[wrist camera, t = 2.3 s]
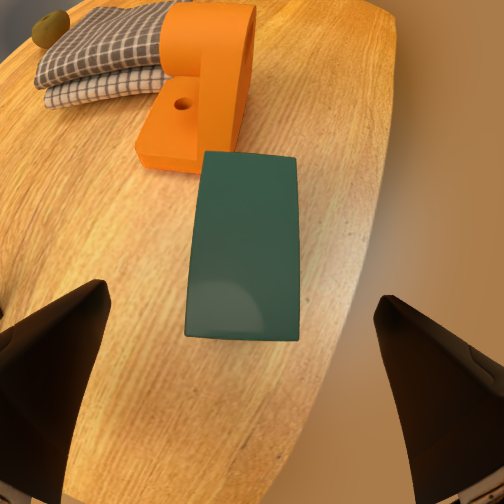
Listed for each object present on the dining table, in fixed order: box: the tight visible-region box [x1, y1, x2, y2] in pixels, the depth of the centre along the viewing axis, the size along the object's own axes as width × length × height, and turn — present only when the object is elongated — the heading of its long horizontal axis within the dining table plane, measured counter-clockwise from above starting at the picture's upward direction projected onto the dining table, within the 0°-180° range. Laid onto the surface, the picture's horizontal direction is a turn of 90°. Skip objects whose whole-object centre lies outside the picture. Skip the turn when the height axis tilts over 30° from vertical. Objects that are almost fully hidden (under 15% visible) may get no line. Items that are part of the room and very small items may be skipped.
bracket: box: [135, 2, 256, 174], centre depth 16 cm, size 11×7×12 cm, turn 172°
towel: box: [34, 0, 193, 110], centre depth 20 cm, size 15×18×8 cm
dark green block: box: [184, 151, 300, 341], centre depth 14 cm, size 8×4×8 cm, turn 178°
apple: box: [32, 10, 70, 48], centre depth 24 cm, size 8×8×7 cm
